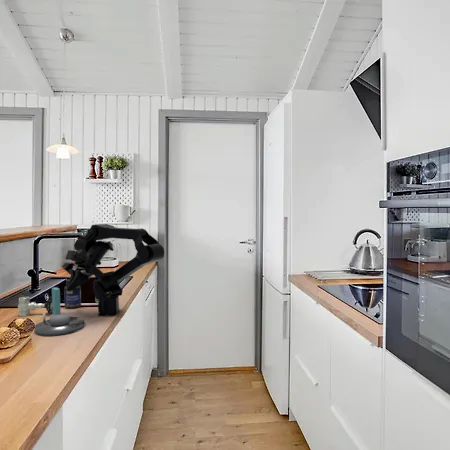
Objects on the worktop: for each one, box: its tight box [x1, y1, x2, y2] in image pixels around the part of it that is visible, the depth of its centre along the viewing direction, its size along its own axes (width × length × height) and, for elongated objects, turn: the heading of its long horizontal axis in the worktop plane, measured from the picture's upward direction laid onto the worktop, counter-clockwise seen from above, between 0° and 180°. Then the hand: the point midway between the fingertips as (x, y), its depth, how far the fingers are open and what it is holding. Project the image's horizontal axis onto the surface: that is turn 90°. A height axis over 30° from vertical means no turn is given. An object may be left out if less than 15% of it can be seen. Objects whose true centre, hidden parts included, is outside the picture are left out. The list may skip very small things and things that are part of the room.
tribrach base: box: [33, 312, 86, 337], centre depth 118 cm, size 15×15×4 cm
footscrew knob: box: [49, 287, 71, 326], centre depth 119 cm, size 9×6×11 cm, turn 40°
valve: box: [17, 296, 53, 317], centre depth 134 cm, size 7×7×12 cm
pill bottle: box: [63, 278, 82, 310], centre depth 144 cm, size 6×6×11 cm
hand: (67, 290), depth 125 cm, fingers closed
